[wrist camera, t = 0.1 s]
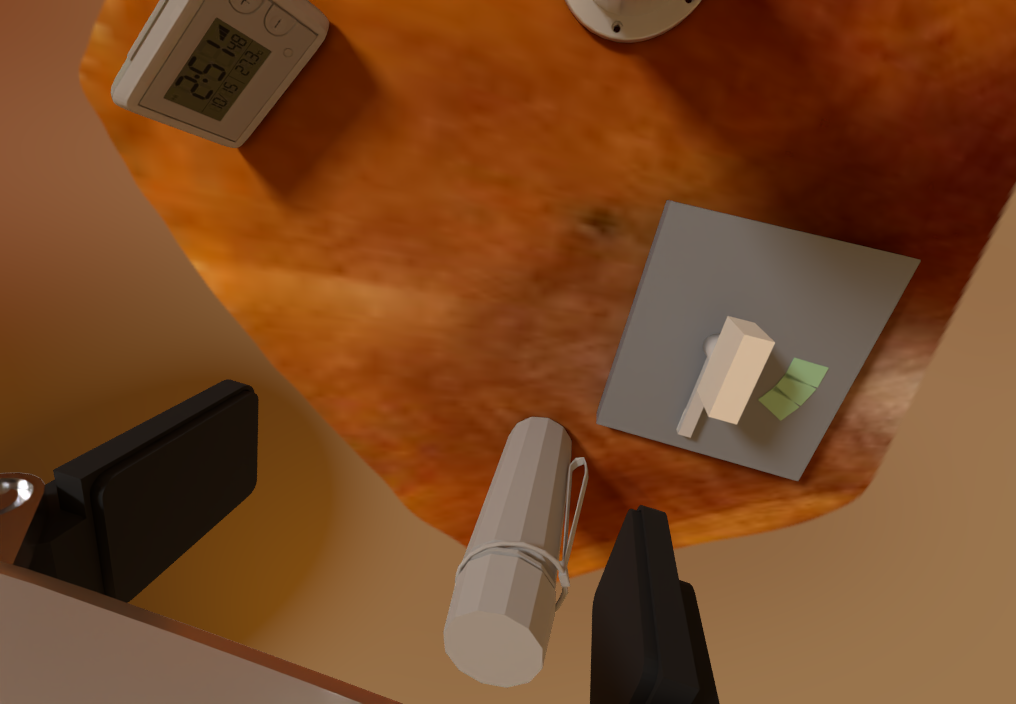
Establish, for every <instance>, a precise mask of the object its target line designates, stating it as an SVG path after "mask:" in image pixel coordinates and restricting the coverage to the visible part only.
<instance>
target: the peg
mask: <svg viewBox="0 0 1016 704" xmlns="http://www.w3.org/2000/svg"><path fill="white" fill-rule="evenodd" d="M774 344H775V342H774V341H773V340H772V339H771V338H770V337H769V336H768V335H767V334H766V333H765V332H764V331H763V330H762V329H761V328H760V327H759V326H758V325H757V324H756V323H754V322H750V321H746V320H742V319H738V318H734V317H730V316H727V319H726V321H725V323H724V326H723V328H722V331H721V333H716V334H712V335H710V336H708V337H707V338H706V339H705V341H704V343H703V351H704V353H705V354H706V356H707V358H706V360H705V363H704V365H703V368H702V370H701V373H700V375H699V377H698V380H697V382H696V385H695V387H694V390H693V392H692V394H691V397H690V399H689V402H688V404H687V407H686V409H685V411H684V414H683V416H682V419H681V421H680V423H679V426H678V428H677V433H678V434H679V435H682V436H686V437H689V438H691V435H692V433H693V431H694V428H695V426H696V424H697V421H698V419H699V417H700V414H701V412H702V410H703V407H704V408H705V410H706V412H707V415H708V417H711V418H715V419H719V420H722V421H726V422H729V423H733V424H737V423H738V421H739V419H740V417H741V415H742V413H743V410H744V408H745V406H746V404H747V402H748V400H749V398H750V395H751V393H752V391H753V389H754V387H755V385H756V383H757V380H758V378H759V376H760V374H761V372H762V370H763V368H764V365H765V363H766V361H767V359H768V357H769V355H770V353H771V351H772V348H773V346H774Z"/></svg>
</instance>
